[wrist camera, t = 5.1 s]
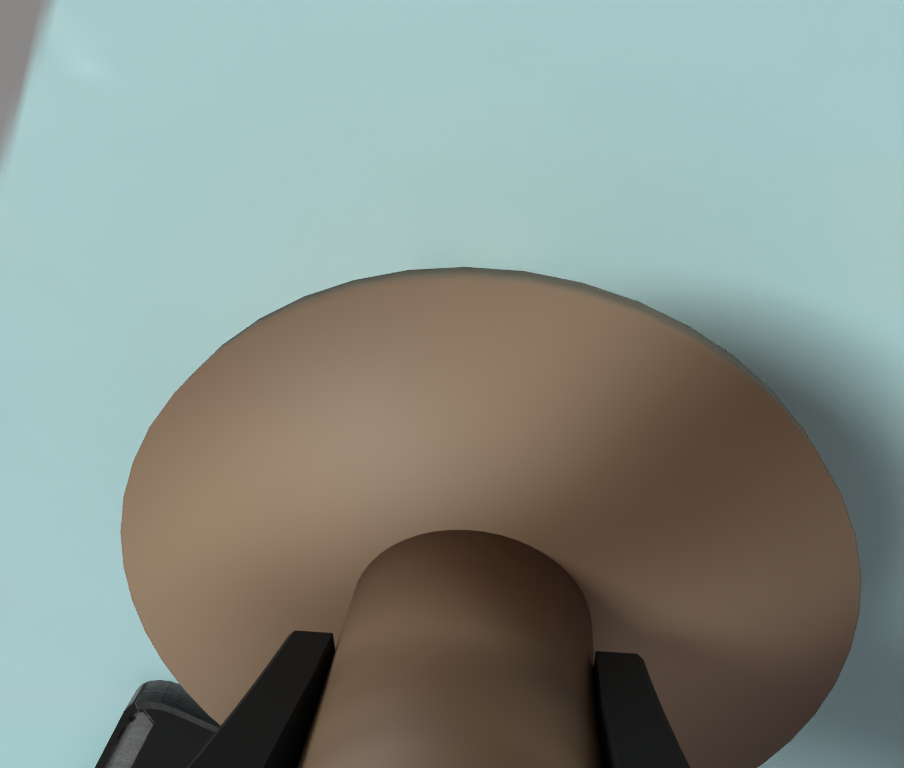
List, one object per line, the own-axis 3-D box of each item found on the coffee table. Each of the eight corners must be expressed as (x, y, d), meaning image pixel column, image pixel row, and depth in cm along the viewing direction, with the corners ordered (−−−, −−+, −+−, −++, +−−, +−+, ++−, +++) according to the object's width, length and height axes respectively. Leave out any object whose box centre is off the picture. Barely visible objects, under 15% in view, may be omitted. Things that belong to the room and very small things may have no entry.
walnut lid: (1029, 522, 10) (1342, 857, 6) (575, 869, 16) (585, 1163, 12) (284, 93, 9) (55, 173, 5) (72, 650, 14) (-114, 904, 10)
